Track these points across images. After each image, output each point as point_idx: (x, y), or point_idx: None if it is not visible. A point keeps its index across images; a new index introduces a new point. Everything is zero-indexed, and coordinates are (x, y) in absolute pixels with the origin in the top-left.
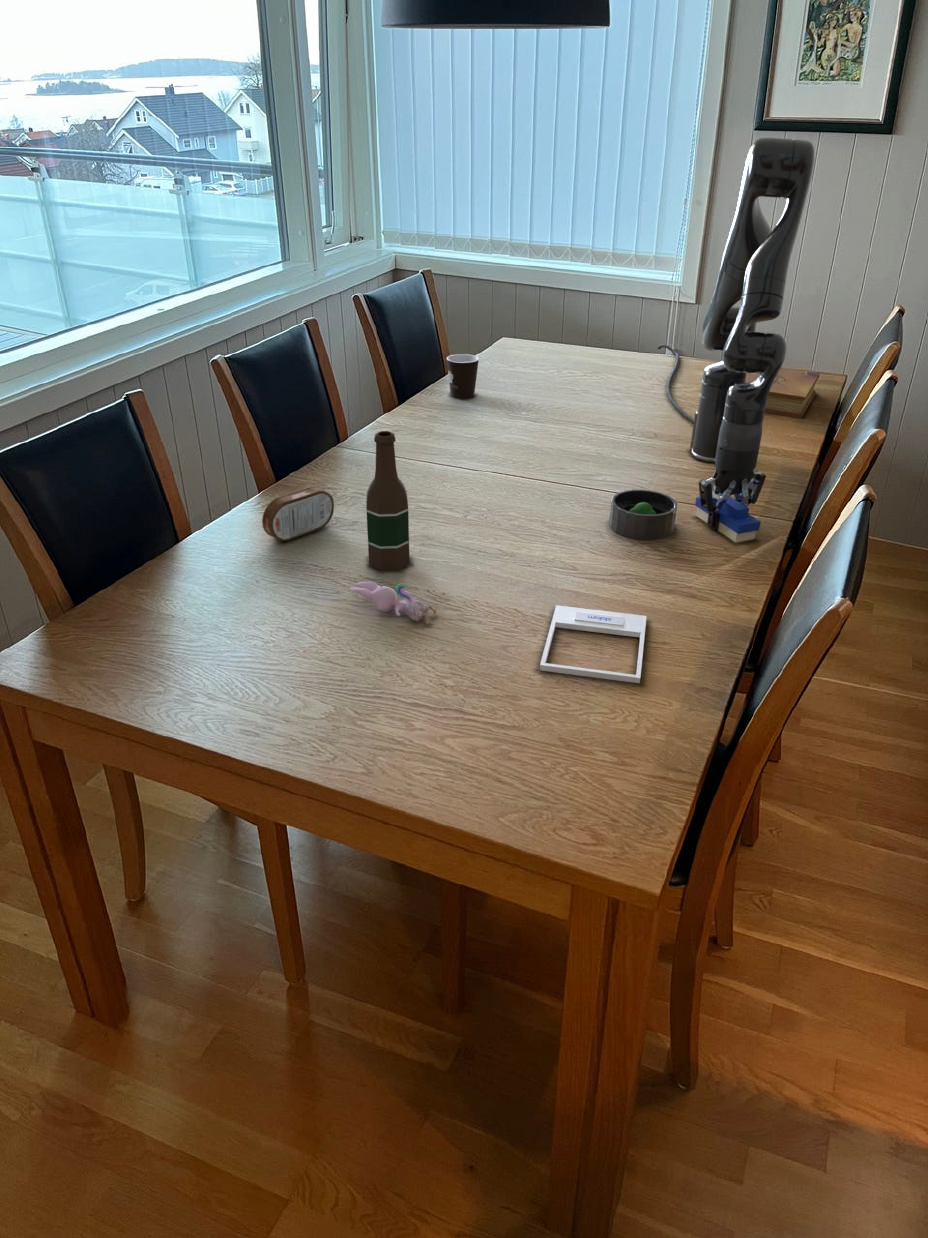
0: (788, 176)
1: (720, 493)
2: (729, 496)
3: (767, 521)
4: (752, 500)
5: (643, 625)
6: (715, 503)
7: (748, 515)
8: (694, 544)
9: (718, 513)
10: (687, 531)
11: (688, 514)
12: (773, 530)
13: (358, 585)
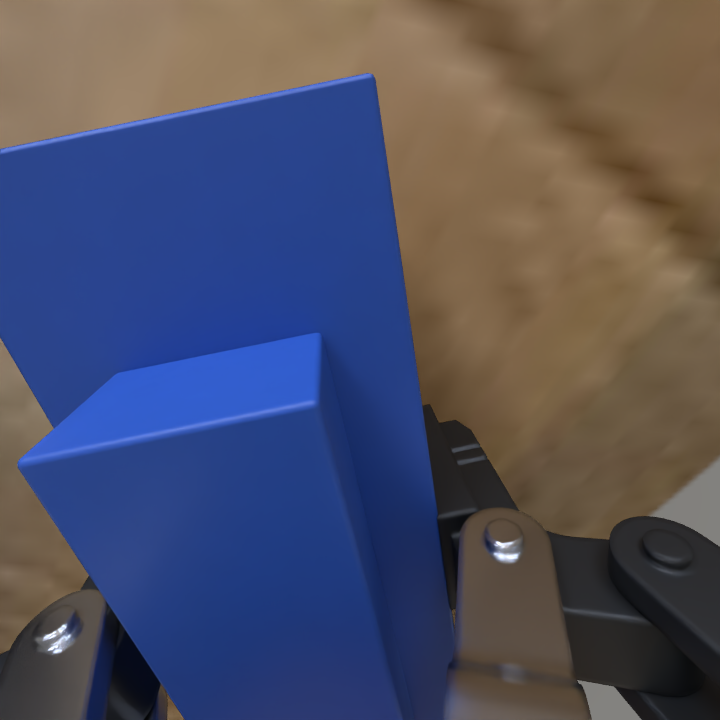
0: None
1: (249, 532)
2: (364, 637)
3: (690, 372)
4: (627, 689)
5: None
6: (106, 675)
7: (439, 702)
8: (39, 604)
9: None
10: (11, 449)
11: (68, 104)
12: (622, 494)
13: None
